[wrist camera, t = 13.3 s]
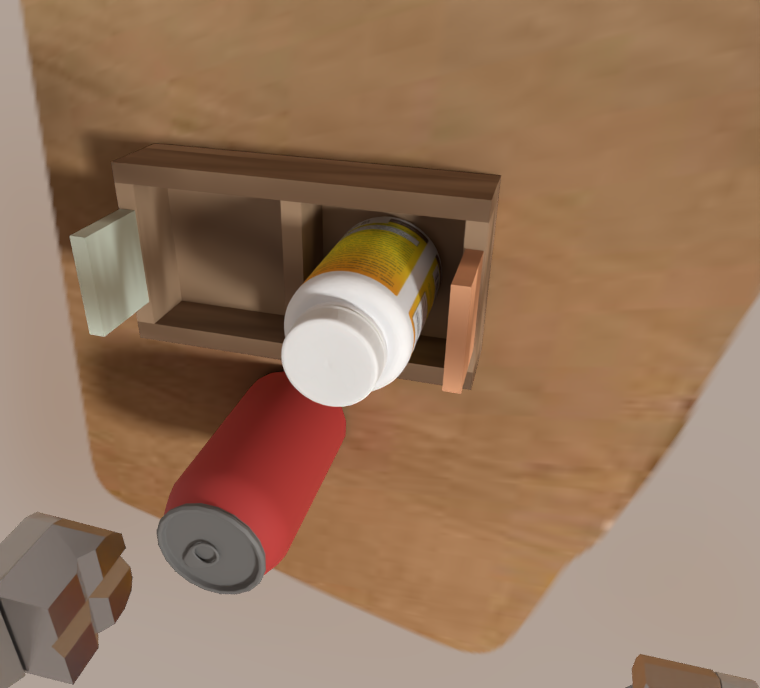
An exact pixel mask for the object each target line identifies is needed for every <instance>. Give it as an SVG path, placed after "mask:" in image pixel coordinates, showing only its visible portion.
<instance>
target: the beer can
mask: <svg viewBox="0 0 760 688" xmlns="http://www.w3.org/2000/svg"><path fill="white" fill-rule="evenodd" d="M345 432H346V420H345V417H344V413H343V410H342V407H333V406H326V405H322V404H320V403H317V402H314V401H312V400H311V399H309V398H307V397H306V396H304V395H303V394H302V393H300V392H299V391H298V390H297V389H296V388H295V387H294V386H293V385H292V383H291V382H290V381H289V379H288V377H287V375H286V373H285V372H275V373H270V374H268V375H266V376H264V377H262V378H260V379H258V380H257V381H256V382H255V383H254V384H253V385H252V386H251V387H250V388H249V390H248V391H247V392H246V394H245V395H244V396H243V397H242V399H241V400H240V401H239V402H238V404H237V405H236V406H235V408H234V409H233V410H232V411H231V413H230V414H229V415H228V417H227V418H226V419H225V420H224V422H223V423H222V424H221V425H220V427H219V428H218V429H217V431H216V432H215V433H214V434H213V436H212V437H211V438H210V439H209V441H208V442H207V443H206V445H205V446H204V447H203V448H202V450H201V451H200V452H199V454H198V455H197V456H196V457H195V459H194V460H193V461H192V462H191V464H190V465H189V466H188V468H187V469H186V470H185V471H184V473H183V474H182V475H181V476H180V478H179V479H178V480H177V482H176V483H175V484H174V486H173V488H172V491H171V493H170V495H169V499H168V502H167V505H166V509H165V513H164V516H163V517H162V518H161V520H160V522H159V525H158V529H157V538H158V545H159V547H160V549H161V551H162V553H163V555H164V557H165V559H166V561H167V562H168V563H169V564H170V565H171V567H172V568H173V569H174V570H175V571H176V572H177V573H178V574H179V575H181V576H182V577H183V578H185V579H186V580H187V581H189V582H190V583H192V584H194V585H196V586H198V587H200V588H202V589H204V590H208V591H211V592H215V593H219V594H240V593H243V592H247V591H250V590H251V589H253V588H254V587H255V586H257V585H258V584H259V583H260V582H261V580H262V578H263V576H264V575H265V574H266V573H267V572H268V571H270V570H271V569H272V568H274V567H275V566H276V565H277V564H278V563H279V562H280V561H281V560H282V559H283V558H284V557H285V556H286V554H287V552H288V550H289V548H290V546H291V544H292V542H293V540H294V538H295V536H296V534H297V532H298V530H299V528H300V526H301V524H302V522H303V520H304V518H305V516H306V514H307V512H308V510H309V508H310V506H311V504H312V502H313V500H314V498H315V496H316V494H317V492H318V490H319V488H320V486H321V484H322V482H323V480H324V478H325V476H326V474H327V472H328V470H329V468H330V466H331V464H332V462H333V460H334V458H335V456H336V454H337V452H338V450H339V448H340V446H341V444H342V442H343V440H344V438H345Z"/></svg>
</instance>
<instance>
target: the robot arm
mask: <svg viewBox="0 0 760 688" xmlns="http://www.w3.org/2000/svg"><path fill="white" fill-rule="evenodd" d="M125 549H126V546H125V543H124V540H123V536H122V534H121V533H117V532H113V531H109V530H106V529H102V528H98V527H94V526H90V525H86V524H83V523H79V522H75V521H71V520H67V519H64V518H59V517H56V516H51V515H47V514H43V513H39V512H36V513H34V514H32V515H30V516H28V517H26V518H25V519H24V520H23V521H22V522H21V523H20V524H19V525H18V526H17V527H16V528H15V529H14V530H13V531H12V532H11V533H10V534H9V535H8V536H7V537H6V538H5V539H4V540H3V541H2V542H1V543H0V688H8V687H10V686H11V685H13V684H14V683H16V682H17V681H19V680H20V679H21V678H23V677H24V676H25V673H29V674H34V675H37V676H41V677H45V678H50V679H53V680H57V681H61V682H65V683H69V684H74V683H75V681H76V680H77V678H78V677H79V676H80V674H81V673H82V671H83V670H84V668H85V667H86V665H87V664H88V662H89V661H90V659H91V658H92V657H93V655H94V654H95V652H96V651H97V649H98V647H99V644H98V633H100V632H102V631H103V630H105V629H107V628H109V627H110V626H112V625H114V624H115V623H116V621H117V620H118V618H119V617H120V615H121V614H122V612H123V611H124V609H125V607H126V604H127V601H128V599H129V596H130V593H131V590H132V572H131V568H130V566H129V565H128V564H127V563H126V561H125V560H124V559H123V558H122V557H121V556H120V555H121V554H122V553H123V551H124V550H125ZM24 672H25V673H24ZM632 680H633V684H632V685H630V686H628V687H626V688H760V687H759V686H758V685H757V683H756V682H755V681H753V680H750V679H746V678H741V677H737V676H732V675H728V674H723V673H719V672H714V671H713V670H711V669H706V668H701V667H697V666H692V665H688V664H683V663H679V662H674V661H670V660H665V659H660V658H656V657H651V656H646V655H642V654H640V655H639V656H638V657H637V658H636V660H635V662H634V665H633V667H632Z"/></svg>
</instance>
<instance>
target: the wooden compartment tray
mask: <svg viewBox="0 0 760 688" xmlns="http://www.w3.org/2000/svg"><path fill="white" fill-rule="evenodd" d="M111 165H112V171H113V177H114V183H115V189H116V195H117V201H118V207H119V210H117V211H115V212H113V213H111V214H110V215H108V216H106V217H104V218H102V219H100V220H98V221H96V222H94V223H93V224H91V225H89V226H87V227H85V228H83V229H81V230H79V231H77V232H76V233H74V234H72V235H70V241H71V246H72V251H73V256H74V260H75V265H76V270H77V275H78V280H79V285H80V289H81V294H82V299H83V304H84V309H85V313H86V318H87V323H88V328H89V333H90V334H91V335H97V336H104V337H105V336H106V335H107V334H109V333H110V332H111V331H112V330H114V329H115V328H116V327H117V326H119V325H120V324H121V323H123V322H124V321H125V320H126V319H128V318H129V317H130V316H132V315H133V314H134V313H135V312H136V315H137V321H138V327H139V333H140V337H141V338H147V339H153V340H159V341H166V342H172V343H178V344H185V345H191V346H197V347H204V348H210V349H216V350H222V351H229V352H235V353H241V354H248V355H254V356H260V357H267V358H273V359H279V360H282V359H281V349H282V345H283V342H284V339H285V332H284V319H285V313H286V310H287V306H288V304H289V302H290V300H291V298H292V297H293V295H294V294H295V292H296V291H297V290H298V289H299V287H300V286H301V285H302V284H303V283H304V282H305V280H306V279H307V278H308V277H309V276H310V274H311V273H312V272H313V271H314V270H315V269H316V267H317V266H318V265H319V264H320V263H321V262H322V261H323V259H324V258H325V257H326V256H327V255H328V254H329V252H330V251H331V250H332V249H333V248H334V247H335V245H336V244H337V243H338V242H339V241H340V240H341V238H342V237H343V236H344V235H345V234H346V233H347V232H348V231H349V230H350V229H351V228H352V227H354V226H355V225H356V224H358V223H360V222H362V221H364V220H367V219H370V218H374V217H383V216H386V217H395V218H399V219H402V220H405V221H407V222H410V223H411V224H413V225H415V226H416V227H418V228H419V229H421V230H422V231H423V232H424V233H425V234H426V235H427V236H428V237H429V238H430V240H431V241H432V242H433V244H434V246H435V247H436V249H437V251H438V254H439V257H440V261H441V266H442V279H441V285H440V288H439V291H438V293H437V296H436V298H435V301H434V303H433V306H432V308H431V310H430V312H429V315H428V317H427V319H426V322H425V324H424V326H423V329H422V331H421V333H420V336H419V338H418V340H417V343H416V345H415V348H414V350H413V352H412V354H411V357H410V359H409V361H408V363H407V365H406V366H405V368H404V369H403V371H402V372H401V373H400V375H399V376H398V377H397V378H399V379H405V380H411V381H418V382H424V383H430V384H437V385H443V388H442V391H447V392H453V393H459V394H461V391H462V389H468V390H471V388H472V384H473V381H474V377H475V373H476V369H477V365H478V361H479V358H480V354H481V348H482V340H483V331H484V322H485V313H486V304H487V295H488V286H489V278H490V269H491V260H492V251H493V242H494V233H495V224H496V216H497V207H498V198H499V189H500V180H501V176H499V175H489V174H478V173H467V172H456V171H446V170H435V169H424V168H413V167H403V166H392V165H381V164H371V163H360V162H349V161H338V160H328V159H317V158H306V157H296V156H285V155H274V154H263V153H253V152H242V151H231V150H220V149H210V148H199V147H188V146H178V145H167V144H156V143H155V144H152V145H150V146H148V147H145V148H143V149H141V150H138V151H136V152H133V153H131V154H129V155H126V156H124V157H122V158H119V159H117V160H114V161H112V162H111Z"/></svg>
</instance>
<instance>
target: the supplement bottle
mask: <svg viewBox="0 0 760 688" xmlns="http://www.w3.org/2000/svg"><path fill="white" fill-rule="evenodd" d="M441 279H442V266H441V261H440V257H439V254H438V251H437V249H436V247H435V246H434V244H433V242H432V241H431V240H430V238H429V237H428V236H427V235H426V234H425V233H424V232H423V231H422V230H421V229H419V228H418V227H416V226H415V225H413V224H411V223H410V222H407V221H405V220H402V219H399V218H395V217H386V216H383V217H374V218H370V219H367V220H364V221H362V222H360V223H358V224H356V225H355V226H354V227H352V228H351V229H350V230H349V231H348V232H347V233H346V234H345V235H344V236H343V237H342V238H341V240H340V241H339V242H338V243H337V244H336V245H335V247H334V248H333V249H332V250H331V251H330V252H329V254H328V255H327V256H326V257H325V258H324V259H323V261H322V262H321V263H320V264H319V265H318V266H317V267H316V269H315V270H314V271H313V272H312V273H311V274H310V276H309V277H308V278H307V279H306V280H305V282H304V283H303V284H302V285H301V286H300V287H299V289H298V290H297V291H296V292H295V294H294V295H293V297H292V298H291V300H290V302H289V304H288V306H287V310H286V313H285V319H284V332H285V339H284V342H283V345H282V349H281V359H282V365H283V368H284V371H285V373H286V375H287V377H288V379H289V381H290V382H291V383H292V385H293V386H294V387H295V388H296V389H297V390H298V391H299V392H300V393H302V394H303V395H304V396H306V397H307V398H309V399H311V400H312V401H314V402H317V403H320V404H322V405H326V406H333V407H343V406H349V405H352V404H355V403H357V402H359V401H361V400H363V399H364V398H365V397H367V396H368V394H369V393H370V392H371V391H374V390H377V389H380V388H382V387H384V386H386V385H388V384H389V383H391V382H392V381H394V380H395V379H396V378H397V377H398V376H399V375H400V373H401V372H402V371H403V369H404V368H405V366H406V365H407V363H408V361H409V359H410V357H411V354H412V352H413V350H414V348H415V345H416V343H417V340H418V338H419V336H420V333H421V331H422V329H423V326H424V324H425V322H426V319H427V317H428V315H429V312H430V310H431V308H432V306H433V303H434V301H435V298H436V296H437V293H438V291H439V288H440V285H441Z"/></svg>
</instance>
